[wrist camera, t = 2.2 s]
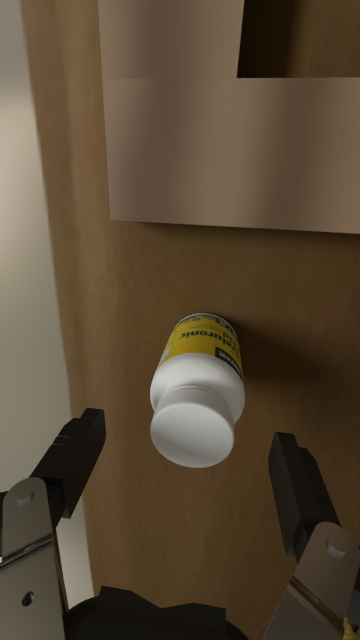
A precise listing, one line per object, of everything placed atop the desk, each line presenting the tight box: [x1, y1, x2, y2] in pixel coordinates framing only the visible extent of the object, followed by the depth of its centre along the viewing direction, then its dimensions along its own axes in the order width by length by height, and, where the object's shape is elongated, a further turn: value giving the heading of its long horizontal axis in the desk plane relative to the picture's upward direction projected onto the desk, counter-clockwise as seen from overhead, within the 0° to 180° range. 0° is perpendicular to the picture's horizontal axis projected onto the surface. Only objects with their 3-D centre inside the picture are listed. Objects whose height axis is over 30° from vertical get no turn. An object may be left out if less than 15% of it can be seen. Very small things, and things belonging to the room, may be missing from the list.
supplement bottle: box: [150, 313, 245, 468], centre depth 17 cm, size 5×5×10 cm
